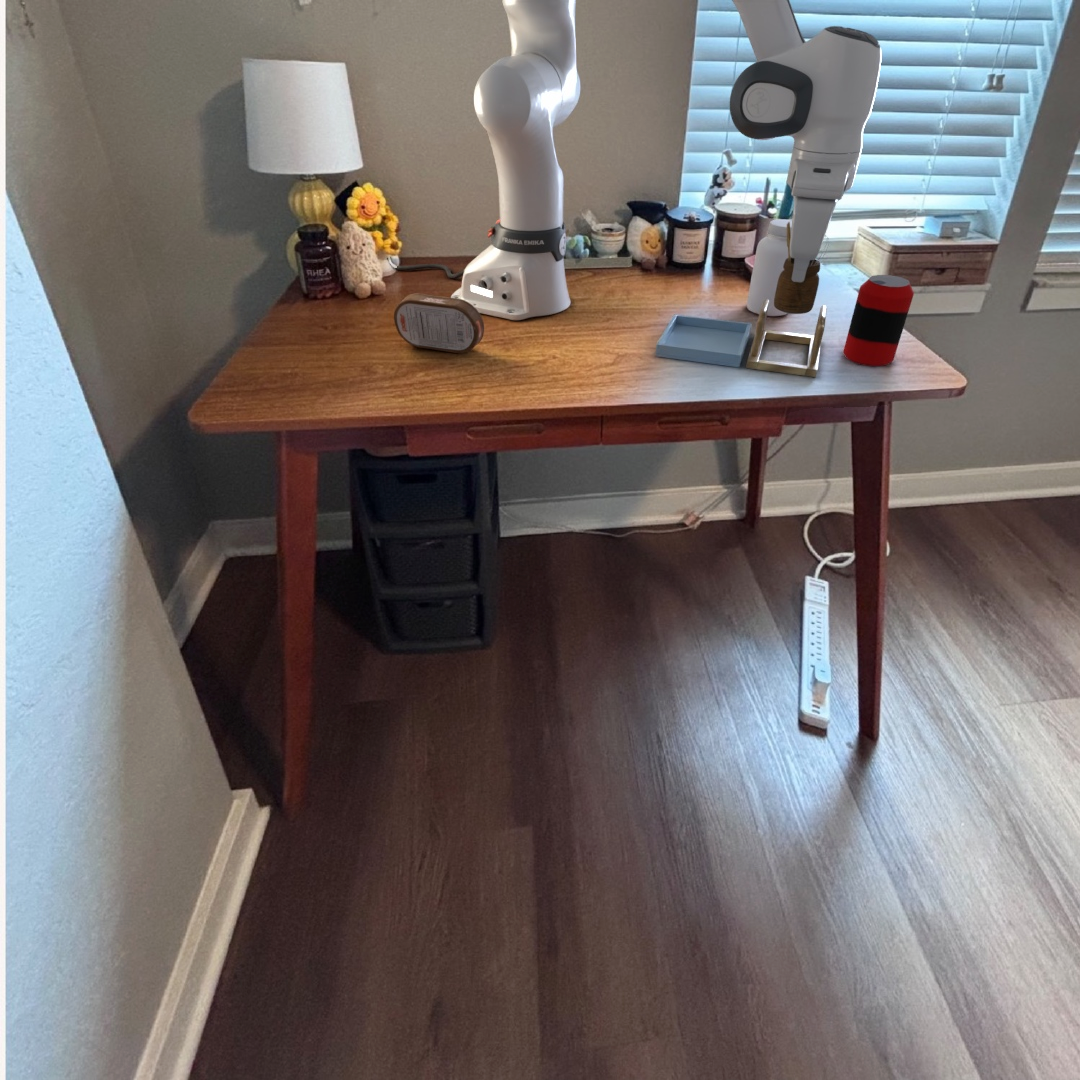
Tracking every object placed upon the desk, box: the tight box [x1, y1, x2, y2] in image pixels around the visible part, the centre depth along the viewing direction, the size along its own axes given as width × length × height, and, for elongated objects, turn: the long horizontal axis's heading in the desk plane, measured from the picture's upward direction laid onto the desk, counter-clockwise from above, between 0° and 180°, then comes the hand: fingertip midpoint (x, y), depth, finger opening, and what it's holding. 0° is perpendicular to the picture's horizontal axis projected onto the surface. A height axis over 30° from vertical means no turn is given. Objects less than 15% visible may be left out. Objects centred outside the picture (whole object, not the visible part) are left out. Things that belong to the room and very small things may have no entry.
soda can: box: [842, 274, 915, 367], centre depth 111 cm, size 8×8×12 cm
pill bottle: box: [746, 218, 792, 317], centre depth 127 cm, size 8×8×15 cm
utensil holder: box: [774, 222, 830, 315], centre depth 107 cm, size 6×6×12 cm
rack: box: [745, 299, 828, 378], centre depth 113 cm, size 10×14×7 cm
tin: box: [393, 292, 485, 354], centre depth 116 cm, size 15×3×8 cm, turn 71°
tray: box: [654, 314, 753, 368], centre depth 118 cm, size 13×14×2 cm
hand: (799, 273), depth 108 cm, fingers closed on utensil holder, 5 cm apart
